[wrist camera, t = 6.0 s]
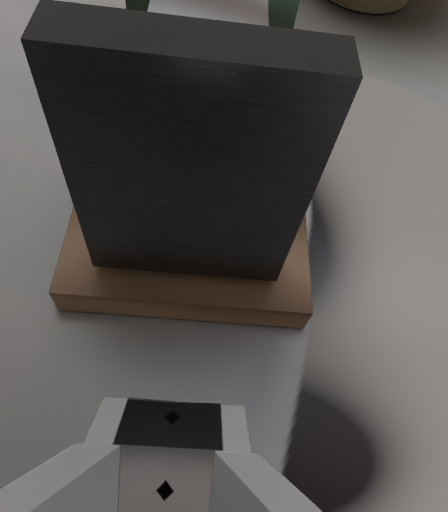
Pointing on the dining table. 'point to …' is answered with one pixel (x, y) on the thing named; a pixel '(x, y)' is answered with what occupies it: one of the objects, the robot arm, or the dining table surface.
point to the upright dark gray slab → (188, 132)
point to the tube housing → (187, 285)
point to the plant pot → (372, 5)
